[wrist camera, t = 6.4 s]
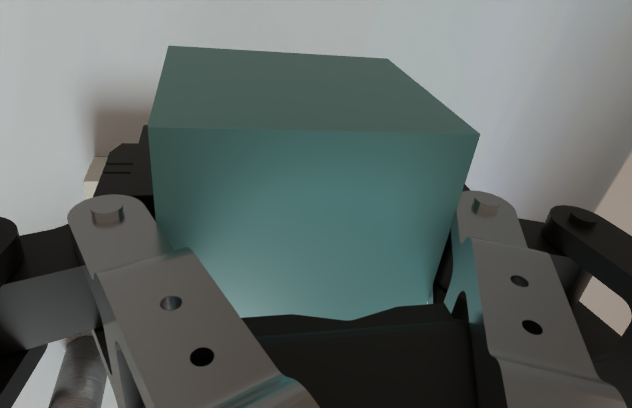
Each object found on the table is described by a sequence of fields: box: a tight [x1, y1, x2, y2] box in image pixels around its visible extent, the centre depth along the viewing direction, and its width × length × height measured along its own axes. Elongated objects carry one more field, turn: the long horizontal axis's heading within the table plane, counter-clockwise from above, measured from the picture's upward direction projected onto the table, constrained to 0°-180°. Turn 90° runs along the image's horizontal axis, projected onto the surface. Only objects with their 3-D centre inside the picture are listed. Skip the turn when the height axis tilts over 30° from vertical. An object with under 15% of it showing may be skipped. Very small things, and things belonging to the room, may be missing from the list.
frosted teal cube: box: [148, 46, 480, 321], centre depth 11 cm, size 6×6×5 cm
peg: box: [48, 336, 107, 408], centre depth 32 cm, size 3×3×8 cm
